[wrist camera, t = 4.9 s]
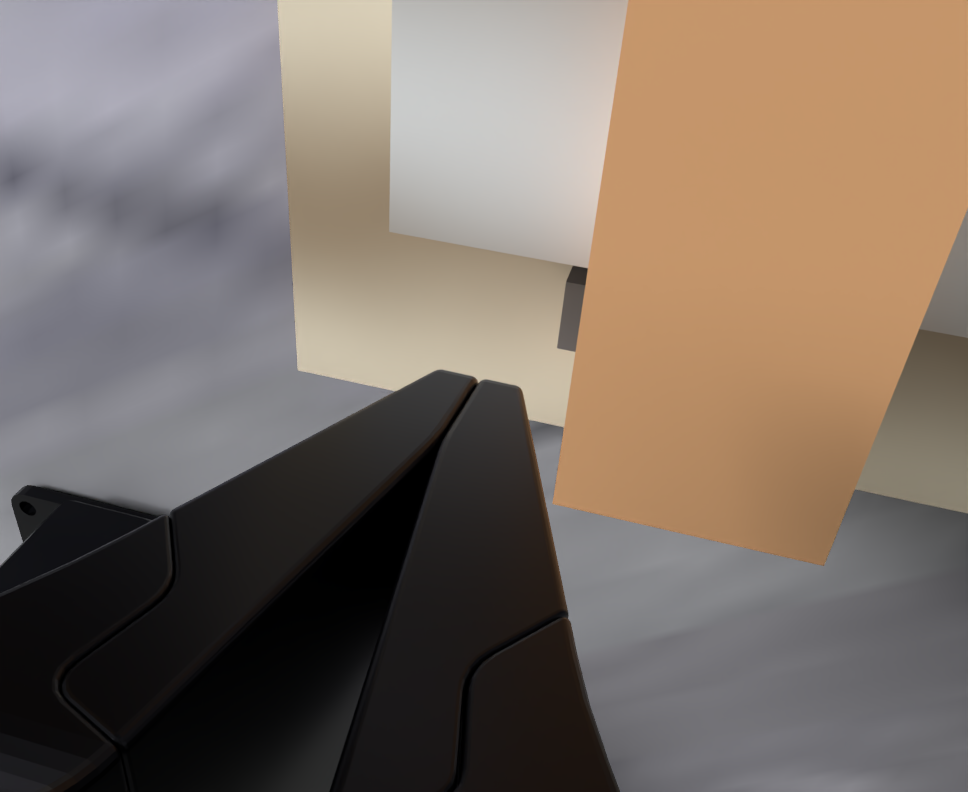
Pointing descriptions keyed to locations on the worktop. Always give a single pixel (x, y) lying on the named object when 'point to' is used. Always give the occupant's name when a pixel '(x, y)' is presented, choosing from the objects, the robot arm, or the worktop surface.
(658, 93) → the tan wooden bar
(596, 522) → the worktop surface
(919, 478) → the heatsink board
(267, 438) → the worktop surface
